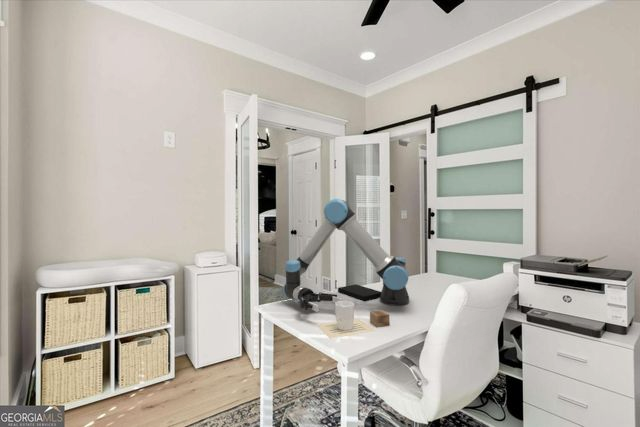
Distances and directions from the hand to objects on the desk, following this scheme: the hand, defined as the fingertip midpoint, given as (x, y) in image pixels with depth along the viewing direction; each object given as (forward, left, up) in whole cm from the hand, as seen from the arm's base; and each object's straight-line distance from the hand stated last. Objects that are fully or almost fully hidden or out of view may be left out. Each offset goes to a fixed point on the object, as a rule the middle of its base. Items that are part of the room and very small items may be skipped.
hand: (330, 305), depth 137 cm
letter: (-2, +10, -7) cm, 12 cm away
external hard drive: (-32, -32, -8) cm, 46 cm away
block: (-18, +12, -7) cm, 22 cm away
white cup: (-2, +10, -7) cm, 12 cm away
